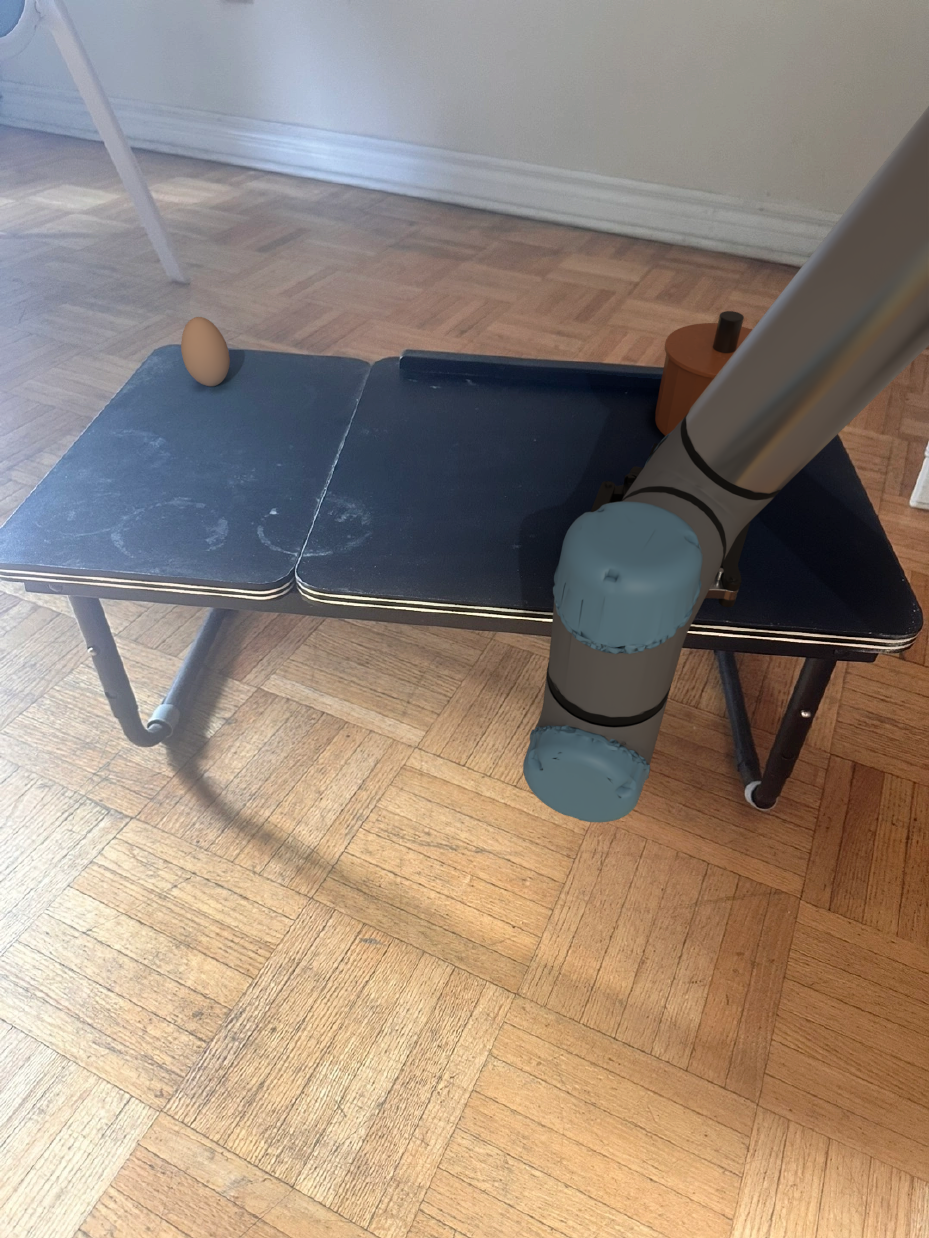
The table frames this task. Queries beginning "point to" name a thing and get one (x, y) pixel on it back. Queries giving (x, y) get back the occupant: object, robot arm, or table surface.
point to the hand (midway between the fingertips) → (688, 463)
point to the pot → (677, 395)
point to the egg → (205, 352)
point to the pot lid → (707, 344)
